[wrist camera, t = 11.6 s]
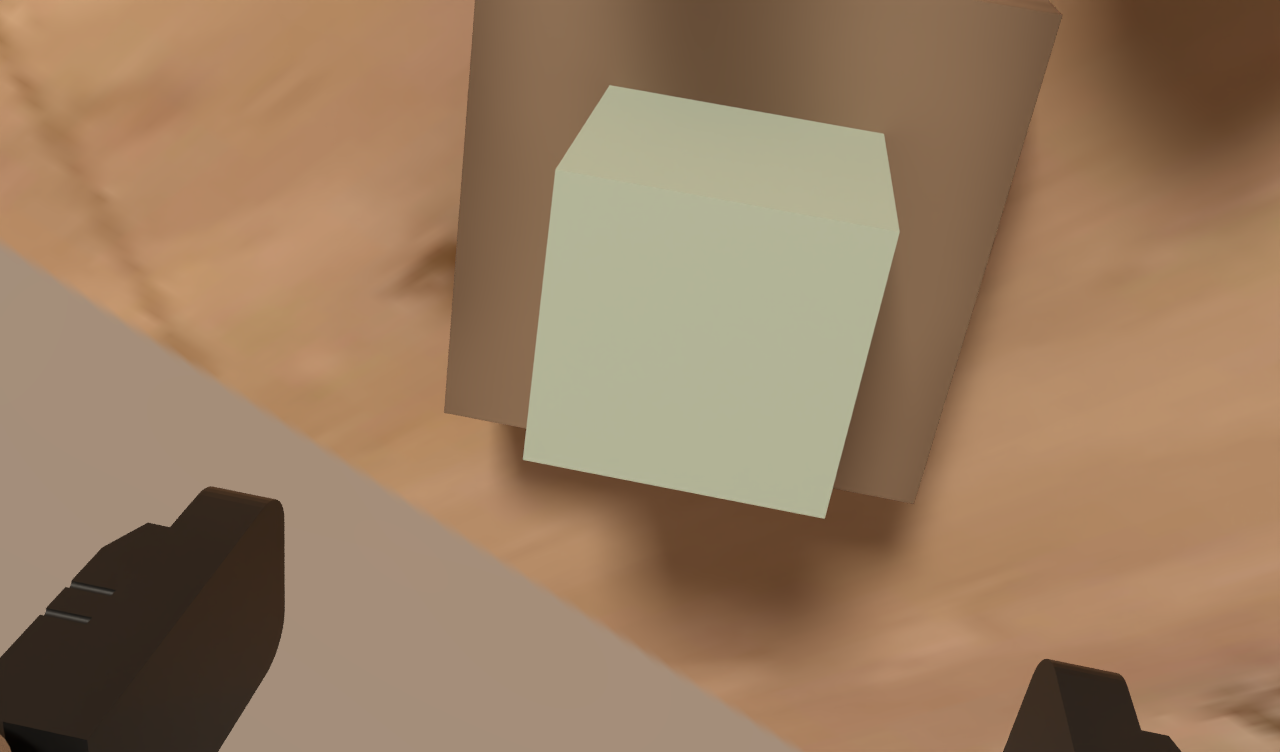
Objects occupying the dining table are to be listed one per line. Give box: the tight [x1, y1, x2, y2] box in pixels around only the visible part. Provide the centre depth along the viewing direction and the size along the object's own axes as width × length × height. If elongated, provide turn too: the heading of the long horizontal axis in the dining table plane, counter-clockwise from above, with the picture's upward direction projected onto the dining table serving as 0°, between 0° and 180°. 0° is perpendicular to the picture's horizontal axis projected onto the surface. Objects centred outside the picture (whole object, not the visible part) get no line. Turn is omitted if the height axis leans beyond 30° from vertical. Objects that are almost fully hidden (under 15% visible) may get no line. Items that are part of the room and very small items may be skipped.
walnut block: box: [444, 0, 1062, 504], centre depth 25 cm, size 10×10×4 cm
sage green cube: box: [523, 85, 900, 519], centre depth 21 cm, size 5×5×5 cm
